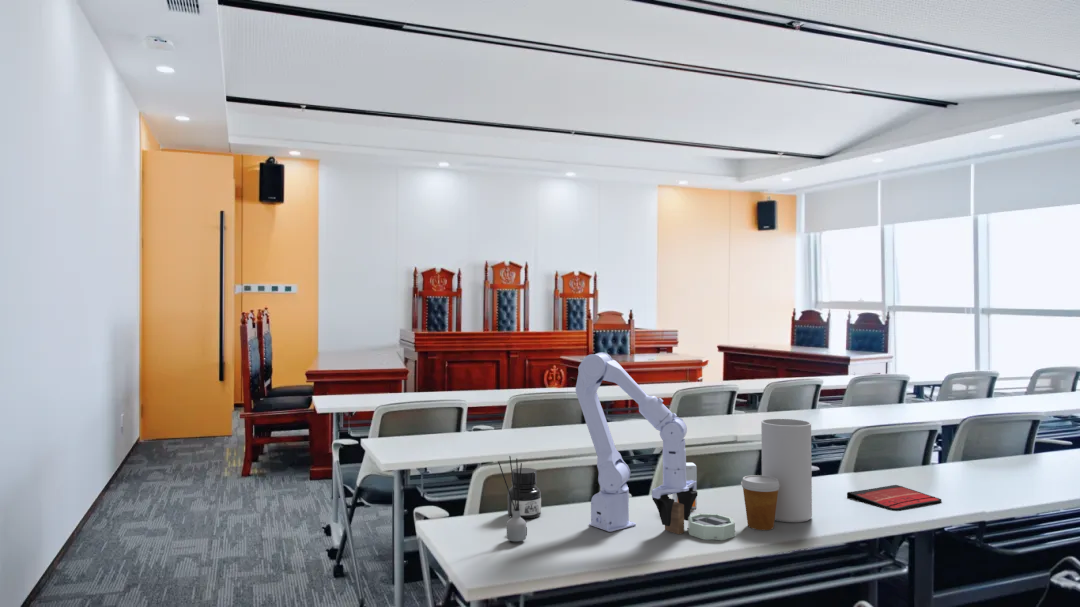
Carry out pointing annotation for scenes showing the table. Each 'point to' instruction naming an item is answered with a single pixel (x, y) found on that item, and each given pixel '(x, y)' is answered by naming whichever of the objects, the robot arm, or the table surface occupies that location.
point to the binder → (893, 497)
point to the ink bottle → (525, 494)
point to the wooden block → (676, 519)
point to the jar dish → (711, 526)
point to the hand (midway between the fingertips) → (675, 522)
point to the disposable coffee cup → (760, 500)
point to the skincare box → (690, 475)
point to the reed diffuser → (515, 513)
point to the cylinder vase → (789, 466)
